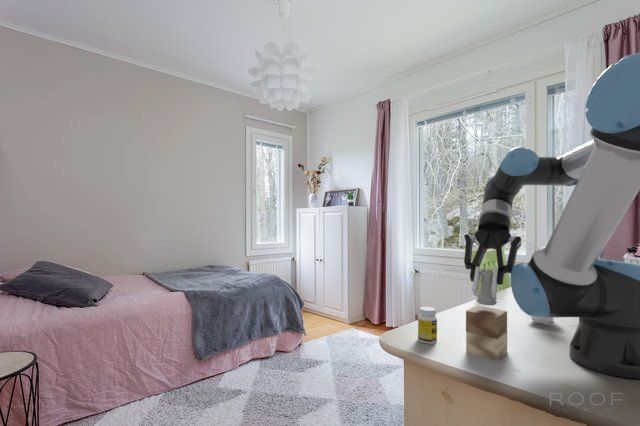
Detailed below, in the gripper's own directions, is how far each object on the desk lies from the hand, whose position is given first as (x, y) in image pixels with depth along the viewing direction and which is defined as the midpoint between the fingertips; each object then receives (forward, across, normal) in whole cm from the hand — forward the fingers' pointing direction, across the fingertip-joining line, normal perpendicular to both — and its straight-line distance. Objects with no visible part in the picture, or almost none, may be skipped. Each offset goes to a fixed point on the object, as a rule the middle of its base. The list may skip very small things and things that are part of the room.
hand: (484, 293), depth 79 cm
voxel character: (-16, -10, -37) cm, 42 cm away
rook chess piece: (0, 0, -5) cm, 5 cm away
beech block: (+8, 0, -13) cm, 15 cm away
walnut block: (+5, 0, -10) cm, 11 cm away
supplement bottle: (+9, +14, -12) cm, 21 cm away
